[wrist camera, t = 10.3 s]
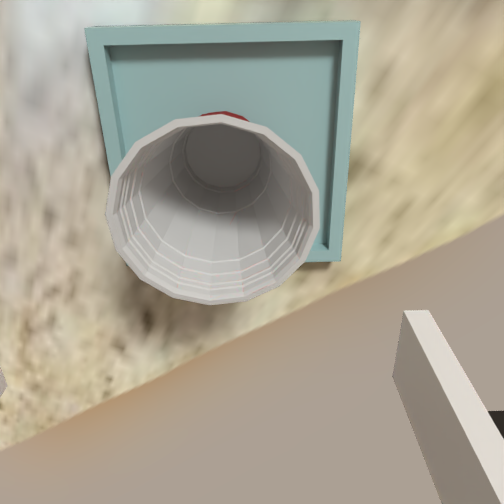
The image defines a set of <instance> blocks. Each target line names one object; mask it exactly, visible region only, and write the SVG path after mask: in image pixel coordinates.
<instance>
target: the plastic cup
mask: <svg viewBox="0 0 504 504" xmlns="http://www.w3.org/2000/svg"><path fill="white" fill-rule="evenodd" d="M105 216H106V219H107V223H108V226H109V229H110V232H111V236H112V239H113V242H114V246H115V249H116V251H117V252H118V254H119V255H120V256H121V257H122V258H123V260H124V261H125V262H126V263H127V264H128V265H129V267H130V268H131V269H132V270H133V271H134V273H135V274H136V275H137V276H138V277H139V279H140V280H142V281H144V282H146V283H147V284H149V285H151V286H153V287H154V288H156V289H158V290H160V291H161V292H163V293H165V294H167V295H169V296H170V297H172V298H176V299H181V300H186V301H191V302H196V303H201V304H206V305H216V304H226V303H235V302H244V301H248V300H250V299H252V298H255V297H257V296H259V295H261V294H263V293H266V292H268V291H270V290H272V289H274V288H277V287H279V286H280V285H281V284H282V283H283V282H284V281H285V280H286V279H288V278H289V277H290V276H291V275H292V274H293V273H294V272H295V271H296V270H297V269H298V268H299V267H300V266H301V265H302V264H303V263H304V262H305V261H306V259H307V256H308V254H309V252H310V249H311V247H312V245H313V243H314V240H315V238H316V236H317V233H318V231H319V229H320V210H319V190H318V187H317V185H316V183H315V181H314V179H313V177H312V175H311V173H310V171H309V169H308V167H307V165H306V163H305V161H304V159H303V157H302V155H301V154H300V153H298V152H297V151H296V150H295V149H293V148H292V147H291V146H290V145H289V144H287V143H286V142H285V141H284V140H282V139H281V138H280V137H279V136H277V135H276V134H275V133H274V132H273V131H271V130H270V129H269V128H268V127H265V126H262V125H258V124H255V123H251V122H249V121H248V120H247V119H246V118H244V117H243V116H241V115H237V114H234V113H231V112H228V111H221V112H211V113H207V114H202V115H200V116H198V117H190V118H181V119H175V120H173V121H171V122H169V123H168V124H166V125H164V126H162V127H161V128H159V129H157V130H155V131H154V132H152V133H150V134H148V135H147V136H145V137H143V138H141V139H140V140H138V141H136V142H135V143H134V144H133V146H132V147H131V149H130V150H129V152H128V153H127V154H126V156H125V157H124V159H123V160H122V161H121V163H120V164H119V166H118V167H117V169H116V170H115V171H114V173H113V174H112V176H111V180H110V186H109V193H108V199H107V206H106V212H105Z"/></svg>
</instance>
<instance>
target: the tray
mask: <svg viewBox="0 0 504 504" xmlns="http://www.w3.org/2000/svg"><path fill="white" fill-rule="evenodd" d="M360 22H361V21H356V20H346V21H304V22H262V23H220V24H178V25H136V26H94V27H87V28H84V29H85V35H86V40H87V46H88V52H89V57H90V63H91V69H92V74H93V80H94V85H95V91H96V97H97V102H98V108H99V114H100V119H101V125H102V131H103V136H104V142H105V148H106V153H107V159H108V165H109V170H110V176H112V174H113V173H114V171H115V170H116V169H117V167H118V166H119V164H120V163H121V161H122V160H123V159H124V157H125V156H126V154H127V153H128V152H129V150H130V149H131V147H132V146H133V144H134V143H135V142H136V141H138V140H140V139H141V138H143V137H145V136H147V135H148V134H150V133H152V132H154V131H155V130H157V129H159V128H161V127H162V126H164V125H166V124H168V123H169V122H171V121H173V120H175V119H181V118H190V117H198V116H200V115H202V114H207V113H211V112H221V111H228V112H231V113H234V114H237V115H241V116H243V117H244V118H246V119H247V120H248V121H249V122H251V123H255V124H258V125H262V126H265V127H268V128H269V129H270V130H271V131H273V132H274V133H275V134H276V135H277V136H279V137H280V138H281V139H282V140H284V141H285V142H286V143H287V144H289V145H290V146H291V147H292V148H293V149H295V150H296V151H297V152H298V153H300V154H301V155H302V157H303V159H304V161H305V163H306V165H307V167H308V169H309V171H310V173H311V175H312V177H313V179H314V181H315V183H316V185H317V187H318V190H319V210H320V229H319V231H318V233H317V236H316V238H315V240H314V243H313V245H312V247H311V249H310V252H309V254H308V256H307V259H306V261H305V262H333V261H341V251H342V239H343V227H344V215H345V203H346V191H347V179H348V167H349V155H350V143H351V131H352V119H353V106H354V94H355V82H356V70H357V58H358V46H359V34H360ZM126 266H129V265H128V264H127V263H126Z"/></svg>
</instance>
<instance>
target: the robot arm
mask: <svg viewBox="0 0 504 504" xmlns="http://www.w3.org/2000/svg"><path fill="white" fill-rule="evenodd" d="M393 379H394V382H395V384H396V387H397V389H398V392H399V395H400V397H401V400H402V402H403V405H404V407H405V410H406V412H407V415H408V418H409V420H410V423H411V425H412V428H413V431H414V433H415V436H416V438H417V441H418V443H419V446H420V449H421V451H422V454H423V457H424V459H425V461H426V464H427V467H428V469H429V472H430V475H431V477H432V480H433V482H434V485H435V488H436V490H437V493H438V495H439V498H440V500H441V503H442V504H504V411H487V410H486V408H485V406H484V405H483V403H482V401H481V400H480V398H479V396H478V394H477V393H476V391H475V389H474V388H473V386H472V384H471V382H470V381H469V379H468V377H467V376H466V374H465V372H464V370H463V369H462V367H461V365H460V364H459V362H458V361H457V359H456V357H455V355H454V353H453V352H452V350H451V348H450V346H449V345H448V343H447V341H446V340H445V338H444V336H443V335H442V333H441V331H440V330H439V328H438V326H437V324H436V323H435V321H434V319H433V317H432V316H431V314H430V312H429V311H428V310H413V311H412V310H410V311H404V312H403V318H402V323H401V329H400V335H399V341H398V347H397V353H396V359H395V365H394V371H393ZM6 387H7V383H6V381H5V378H4V375H3V373H2V370H1V367H0V397H1V395H2V394H3V392H4V391H5V389H6Z"/></svg>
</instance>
